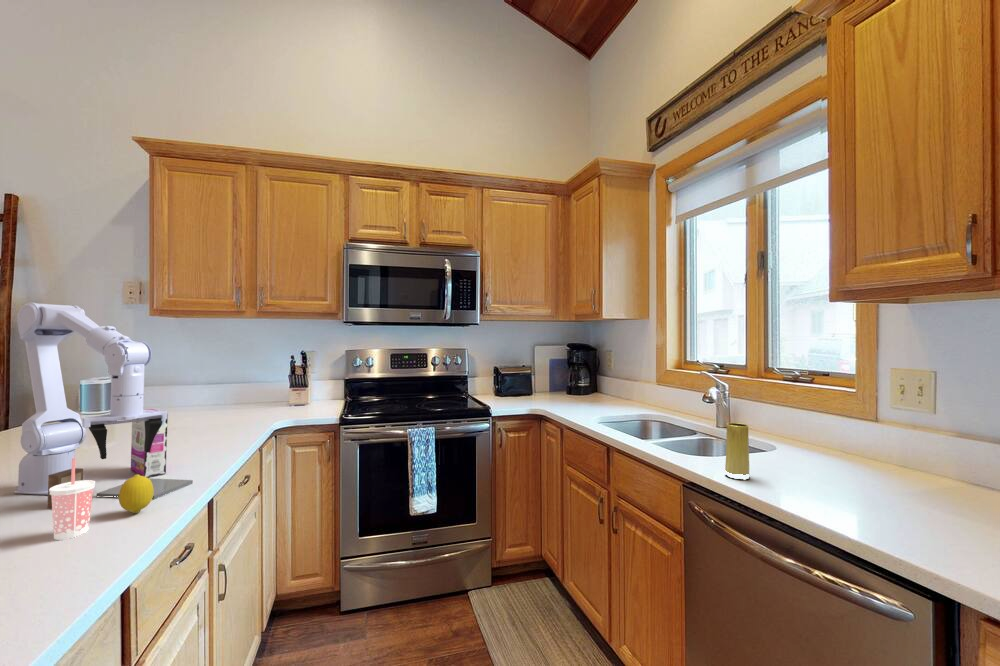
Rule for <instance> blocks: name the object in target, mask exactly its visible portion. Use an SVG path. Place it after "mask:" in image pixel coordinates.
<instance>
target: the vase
mask: <svg viewBox="0 0 1000 666" xmlns="http://www.w3.org/2000/svg"><path fill="white" fill-rule="evenodd" d="M749 439H750V438H749V425H748V424H745V423H742V422H741V423H740V422H727V423H726V445H725V446H726V448H725V450H726V451H725V464H724V465H725V470H726V471H727V472H729V473H732V474H743V475H746V474H749V475H750V445H749V442H750V440H749ZM725 470H724V471H725Z"/></svg>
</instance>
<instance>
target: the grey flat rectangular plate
mask: <svg viewBox="0 0 1000 666" xmlns="http://www.w3.org/2000/svg"><path fill="white" fill-rule="evenodd" d="M148 478H149V479H150V480H151V482H152V485H153V489H154V493H153V498H152V500H156V499H158V497H159V498H160V497H163V495H164V496H166V495H169V494H171V493H173V492H176V491H178V490H180V489H182V488H185V487H187V486H190V485H192V484H193V482H194V481H193V480H192V479H172V478H152V477H148ZM123 484H124V483H122V484H120V485H117V486H114V487H111V488H108V489H106V490H103V491H100V492H96V497H97V496H113V497H114V496H116V497H117V496H118V497H119V492H120V489H121V487H122V485H123ZM170 492H171V493H170ZM165 494H166V495H165Z"/></svg>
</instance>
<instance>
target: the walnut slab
mask: <svg viewBox="0 0 1000 666" xmlns="http://www.w3.org/2000/svg"><path fill="white" fill-rule="evenodd" d="M71 471H72V469H69V470H65V471H61V472H58V473H54V474H51V475H48V495H47V509H51V508H52V497H51V495H50V492H49V489H50V488H51V487H53V486H56V485H59V484H63V483H67V482H71ZM81 480H84V468H78V467H77V468H76V467H75V481H81Z"/></svg>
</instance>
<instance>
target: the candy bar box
mask: <svg viewBox="0 0 1000 666" xmlns="http://www.w3.org/2000/svg"><path fill="white" fill-rule="evenodd" d="M143 411H160V410H158V409H154V408H149V409H148V408H147V409H143ZM168 416H169V413H168V412H167V419H163V420H162V419H161V421H162V426H161V427H160V429H159V430H158V432H157V434H156V436H155V438H154V440H153V443H152V446H151V450H150V452H148V453H146V452H145V451H144V444H145V421H139V422H131V444H130V446H131V448H130V450H131V451H130V472H132V471H133V472H132V473H134V472H135V473H134V474H136V473H137V474H139V475H141V476H145V477H147V478H152V477H157V476H162V475H165V474H167V450H168V449H167V447H168V445H167V444H168V443H167V442H168V421H169V420H168V418H169V417H168ZM131 420H134V419H131ZM137 474H136V475H137ZM151 476H152V477H151Z"/></svg>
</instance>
